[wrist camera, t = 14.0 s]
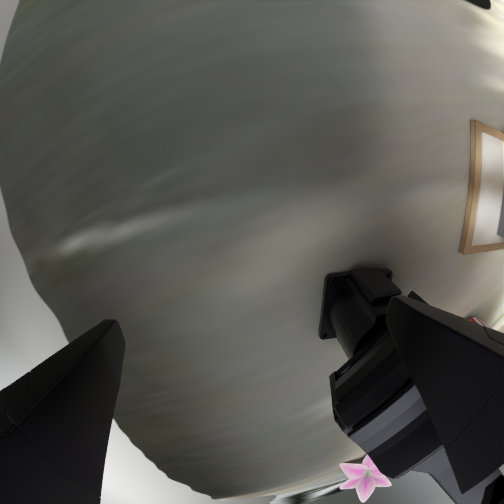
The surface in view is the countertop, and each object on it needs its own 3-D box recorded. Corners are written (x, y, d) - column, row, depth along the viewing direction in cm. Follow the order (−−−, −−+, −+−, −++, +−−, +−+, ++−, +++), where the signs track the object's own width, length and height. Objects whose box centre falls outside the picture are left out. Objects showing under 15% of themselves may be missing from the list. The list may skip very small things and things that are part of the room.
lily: (395, 436, 40) (403, 465, 31) (386, 470, 40) (391, 498, 30) (340, 443, 43) (340, 473, 34) (336, 476, 43) (334, 504, 34)
